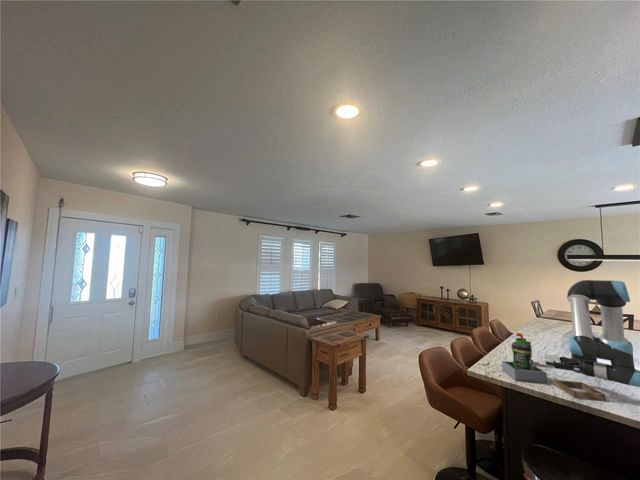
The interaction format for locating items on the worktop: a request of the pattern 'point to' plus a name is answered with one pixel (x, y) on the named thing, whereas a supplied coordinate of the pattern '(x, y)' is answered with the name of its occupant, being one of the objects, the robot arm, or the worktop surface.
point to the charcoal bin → (525, 373)
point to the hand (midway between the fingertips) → (541, 358)
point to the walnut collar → (590, 393)
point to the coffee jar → (522, 356)
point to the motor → (523, 341)
